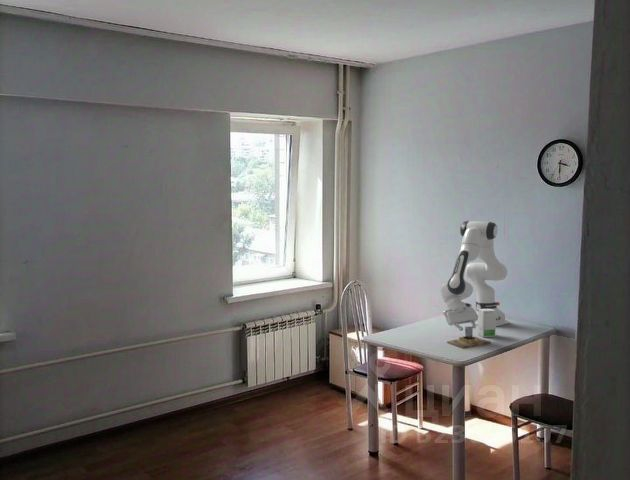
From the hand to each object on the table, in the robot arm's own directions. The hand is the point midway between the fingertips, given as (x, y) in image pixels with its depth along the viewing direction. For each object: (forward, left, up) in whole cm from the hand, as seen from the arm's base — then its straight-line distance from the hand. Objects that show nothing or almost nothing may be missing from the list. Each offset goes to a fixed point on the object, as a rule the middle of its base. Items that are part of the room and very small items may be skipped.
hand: (468, 329), depth 332 cm
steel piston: (0, +1, -7) cm, 7 cm away
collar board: (0, +1, -8) cm, 8 cm away
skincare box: (-20, -7, -8) cm, 22 cm away
